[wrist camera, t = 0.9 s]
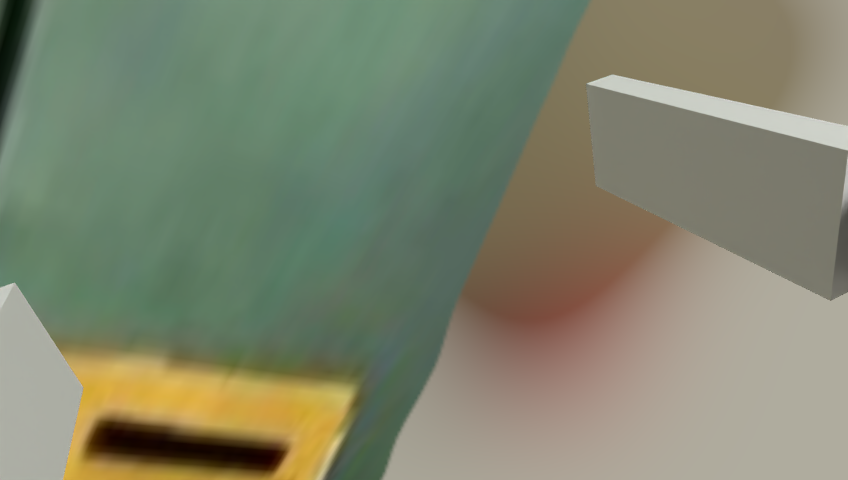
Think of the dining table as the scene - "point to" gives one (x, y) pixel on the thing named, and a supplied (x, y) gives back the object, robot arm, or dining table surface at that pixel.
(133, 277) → the dining table surface
